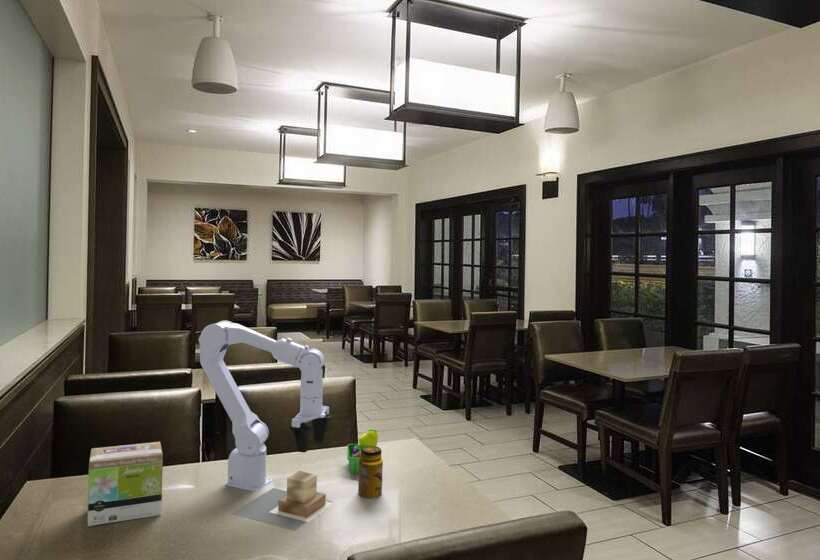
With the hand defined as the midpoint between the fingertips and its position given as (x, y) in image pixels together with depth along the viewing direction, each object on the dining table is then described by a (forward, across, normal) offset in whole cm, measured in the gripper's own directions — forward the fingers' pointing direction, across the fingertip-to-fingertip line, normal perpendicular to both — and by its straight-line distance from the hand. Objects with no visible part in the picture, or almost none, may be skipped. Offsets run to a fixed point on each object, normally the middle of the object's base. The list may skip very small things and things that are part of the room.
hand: (310, 447), depth 147 cm
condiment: (+11, +2, -16) cm, 19 cm away
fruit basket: (+11, +18, -6) cm, 22 cm away
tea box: (+10, -32, +29) cm, 45 cm away
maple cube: (+8, -12, -6) cm, 15 cm away
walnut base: (+10, -12, -6) cm, 17 cm away
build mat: (+10, -14, -2) cm, 18 cm away
